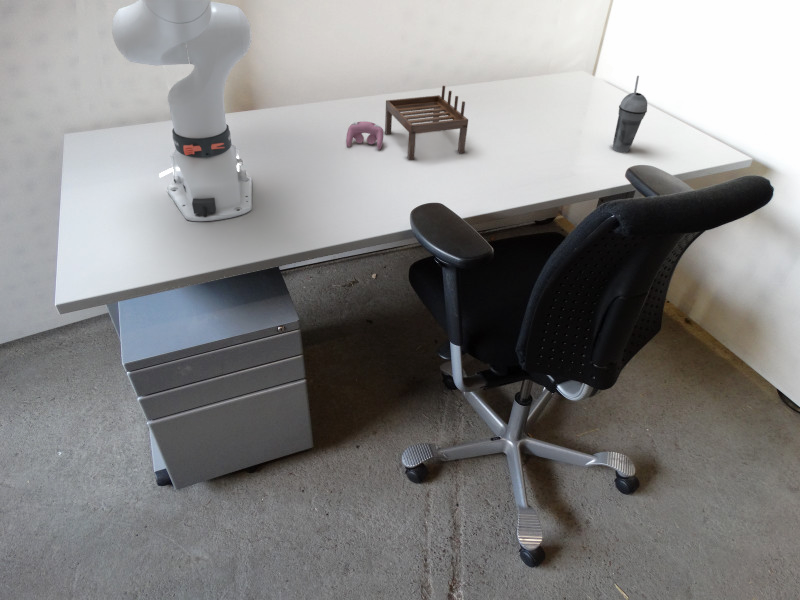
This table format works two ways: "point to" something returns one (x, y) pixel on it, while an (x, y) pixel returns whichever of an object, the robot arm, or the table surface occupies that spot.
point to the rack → (427, 117)
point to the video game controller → (365, 127)
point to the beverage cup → (629, 120)
